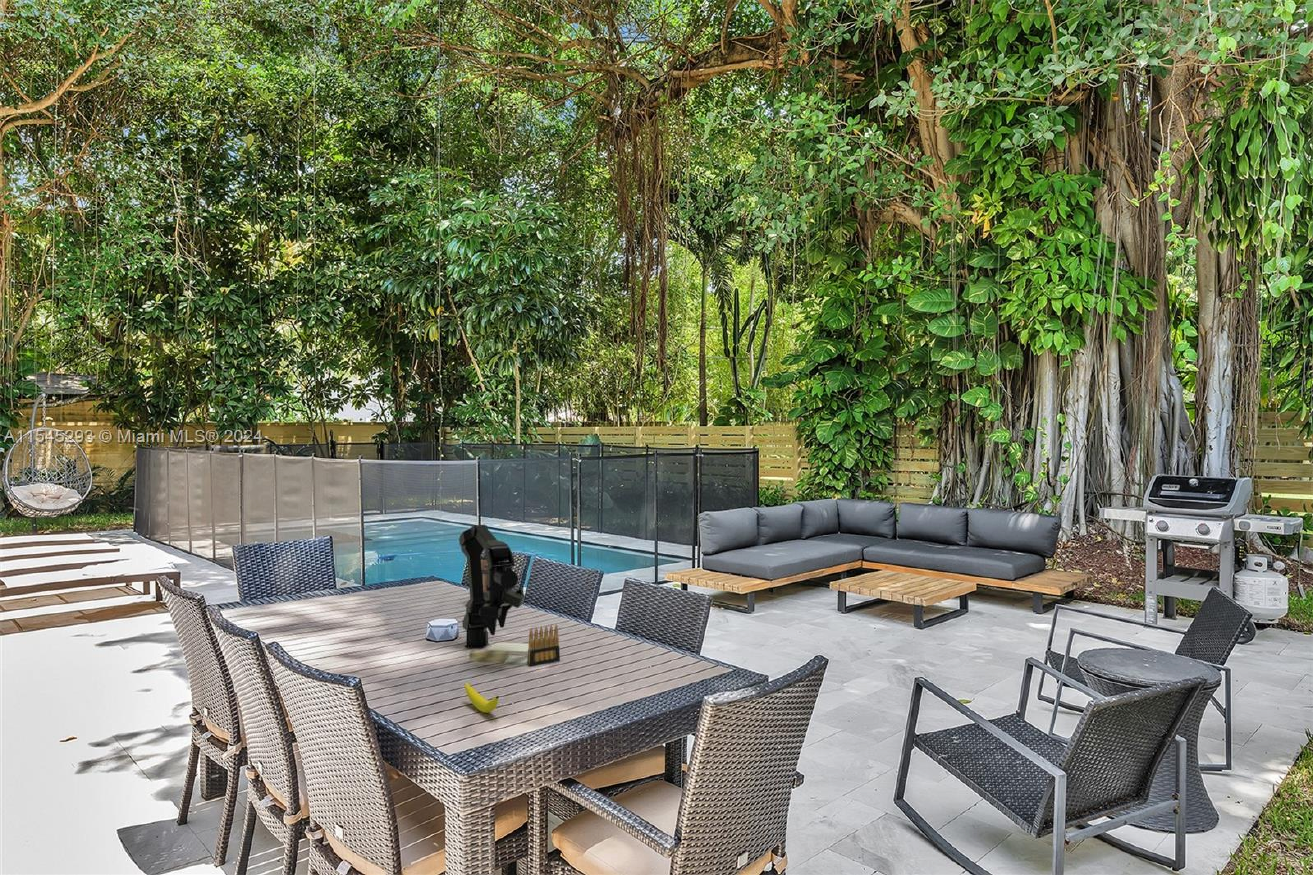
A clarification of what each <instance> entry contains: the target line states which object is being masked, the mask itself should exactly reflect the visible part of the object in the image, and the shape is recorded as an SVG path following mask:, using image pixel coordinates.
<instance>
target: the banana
mask: <svg viewBox="0 0 1313 875" xmlns="http://www.w3.org/2000/svg"><path fill="white" fill-rule="evenodd" d="M464 687H465V692H466V695H467V697H468V699H469V701H470V702H471V704H472V705H473V706H474V707H475V708H476V709H477V710H478V711H480V712H481V713H484V714H489V713H491V712H492V711H495V709H496V708H497V707H498V704H499V698H500V697H499V696H495V697H494V698H492V699H491V700H490V701H489V700H488V699H486V698H485V697H484V696H482V695H481V694H480V693H479V692H477V690H475V689H474V688H473V687H472V686H471V685H469V683H468V682H464Z"/></svg>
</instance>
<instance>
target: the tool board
mask: <svg viewBox="0 0 1313 875" xmlns="http://www.w3.org/2000/svg"><path fill="white" fill-rule="evenodd" d="M528 649H529V643H523V642H521V643H520V642H519V643H518V642H515V643H514V642H496V643H495V644H493V645H491V647H490V648H488V649H487V650H488V651H509V655H510V656H513V655H514V656H516V655H517V656H528Z"/></svg>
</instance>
